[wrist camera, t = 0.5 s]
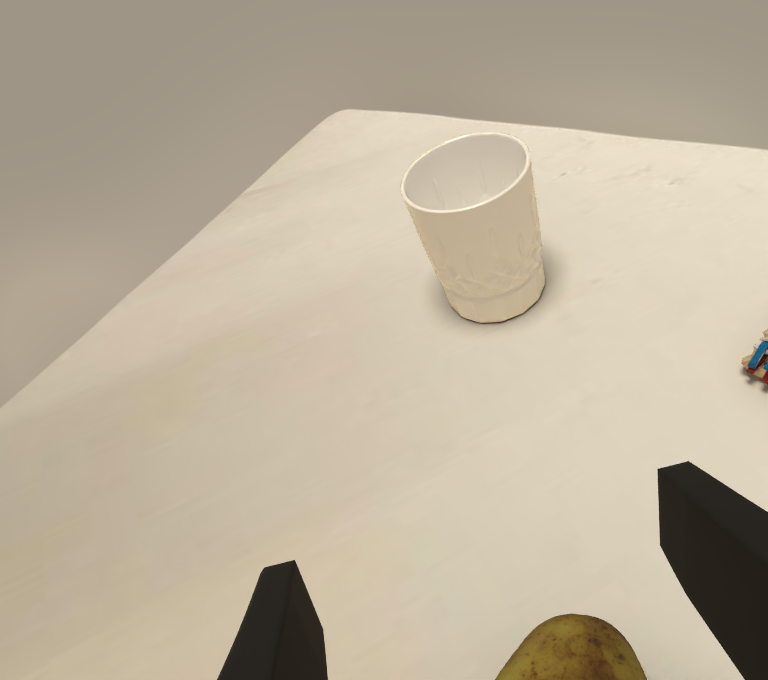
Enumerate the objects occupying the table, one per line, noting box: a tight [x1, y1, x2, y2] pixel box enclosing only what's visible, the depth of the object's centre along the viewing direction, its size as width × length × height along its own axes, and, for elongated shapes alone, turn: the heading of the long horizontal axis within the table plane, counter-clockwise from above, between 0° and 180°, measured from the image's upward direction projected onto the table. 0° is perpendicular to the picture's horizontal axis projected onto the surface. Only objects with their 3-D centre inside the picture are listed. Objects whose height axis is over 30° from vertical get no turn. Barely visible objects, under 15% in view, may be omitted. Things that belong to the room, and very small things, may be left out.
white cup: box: [401, 132, 545, 323], centre depth 42 cm, size 8×8×10 cm
